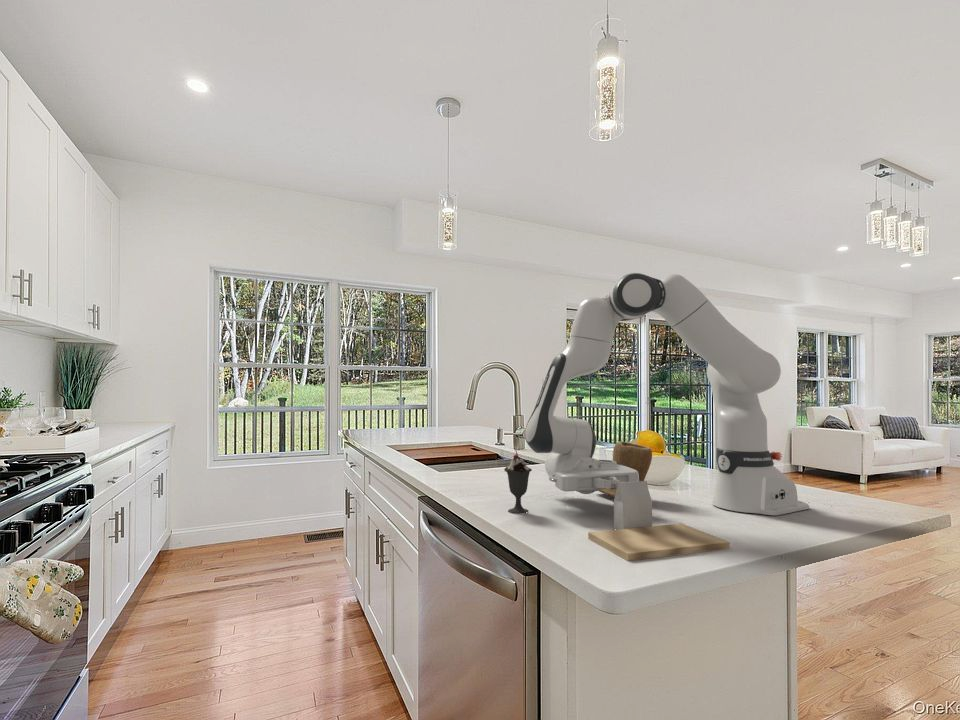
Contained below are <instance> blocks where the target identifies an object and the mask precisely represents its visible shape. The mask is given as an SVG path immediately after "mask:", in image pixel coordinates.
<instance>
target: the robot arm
mask: <svg viewBox="0 0 960 720" xmlns="http://www.w3.org/2000/svg"><path fill="white" fill-rule="evenodd" d="M650 312H653V313H655V314H657V315H659V316H660V317H662V318H663V319H664V320H665V322H666V323H667V324H668V325H669V326H670V328H671V329H672V331H674V332H675V333H676V334H677V336H678V337H679V338H680V339H681V340H682V341H683V343H684V344H685V345H686V346H687V347H688V348H689V349H690V351H692V352H693V353H694V354H696V355H698V357H700V358H701V359H703V360H704V361H705V362H706V363H708V365H707V368H706V377H707V380H708V382H709V384H710V388H711V392H712V393H711V394H712V398H713V402H714V406H715V412H716V418H717V419H716V420H717V448H716V451H715V452H716V453H715V454H716V455H715V458H716V459H715V460H716V464H717V472H716V482H715V488H714V494H713V499H712V502H711V504H712V505H713V506H715V507H717V508H719V509H724V510H729V511H733V512H739V513H750V514H761V515H765V516H767V515H768V516H781V515H785V514H790V513H795V512H801V511H804V510H809V509H810V505H809V503H806V502H805V501H801V500H798V499H799V498H798V490H797V486H796V484H795V482H794V481H793V480H791V479H790V478H789V477H788V476H787V475H786V474H784V473H783V472H782V471H780V470H779V469H778V468H777V467H776V466H775V463H774V460H776V461H781V460H782V458H783V456H782V455H783V454H782V453H781V452H780V451H779V452H778V451H772V452H770V451H769V449H768V419H767V416H766V415H765V413H764V411H763V410H762V406H761V403H760V400H759V396H758V394H761V393H764V392H766V391H768V390H770V389H771V388H773V387H774V386H776V385H777V384H778V382H779V380H780V379H781V374H782V371H781V365H780V363H779V361H778V359H777V358H776V357H775V356H774V355H773V354H772V353H770V352H768V351H766V350H764V349H763V348H761V347H760V346H758V345H757V344H756V343H755V342H753V341H752V340H751V339H750V338H749V337H748V336H746V335H745V334H743V333H742V332H741V331H739V330H738V328H736V327H735V326H733V324H731V322H729V321H728V320H727V319H726V317H724V315H723V314H722V313H721V312H720V311H719V310H718V309H717V308H716V306H715V305H714V304H713V303H712V302H711V301H710V300H709V299H708V298H707V296H706V295H705V294H704V293H703V292H702V291H701V290H700V289H699V288H698V287H697V286H695V284H693V283H692V282H691V281H690V280H688V279H687V278H686V277H684V276H682V275H680V274H678V273H677V274H675V273H674V274H670V275H667V276H664V277H662V278H661V279H658V278H655V277H652V276H649V275H646V274H643V273H640V272H632V273H631V272H630V273H628V274H625V275H623V276H622V277H620V278H619V279H618V280H617V281H616V282H615V283H614V284H613V286H612V287H611V289H610V292H608V293H607V295H606V296H605V297H598V296H597V297H596V296H594V297H593V296H592V297H588V298H585V299H584V300H583V299H582V301H581V302H580V303H579V306H578V308H577V310H576V313H575V316H574V317H573V318H574V319H573V322H572V326H571V329H570V330H571V331H570V334H569V339H568V342H567V344H566V347H564V349H563V351H562V352H561V353H560V354H557V355H555V356H554V358H553V359H552V362H551V364H550V365H549V369H548V371H547V373H546V376H545V379H544V381H543V384H542V387H541V389H540V393H539V395H538V398H537V401H536V403H535V406H534V408H533V411H532V413H531V415H530V417H529V419H528V421H527V423H526V426H525V429H524V430H525V431H524V440H525V442H526V444H527V446H528V447H529V448H530V449H531V450H532V451H533V452H534V453H537V454H538V453H539V454H549V455H547V457H546V459H545V461H544V469H545V472H546V474H547V475H548V480H549V481H550V482H553V483H554V485H555V487H556V489H559V490H560V491H562V492H577V493H580V494H582V495H590V494H593V493H594V492H599V490H602V489H608V490H609V489H617V483H620V482H637V481H639V473H638V471H637V470H635V469H632V468H629V467H626V466H623V465H618V464H617V462H616V461H613V460H609V459H596V458H594V457H593V456H594V454H595V451H596V446H597V437H596V436H597V435H596V433H595V430H594V428H593V426H592V424H591V423H590V422H589V421H588V420H586V419H582V418H575V417H567V416H566V417H565V416H557V415H554V413H555V411H556V407H557V405H558V401H559V399H560V396H561V393H562V391H563V388H564V386H565V385H566V384H567V383H568V382H569V381H571V380H572V379H575V378H578V377H582V376H586V375H590V374H593V373H596V372H598V371H599V370H601V369H602V368H604V366H605V365H606V364H607V363H608V360H610V355H611V352H612V351H611V350H612V348H613V347H612V345H613V342H614V340H613V339H614V336H615V331H616V327H617V325H618V324H619V322H626V321H633V320H636V319H640V318H642V317H644V316H645V315H647V314H648V313H650Z"/></svg>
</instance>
